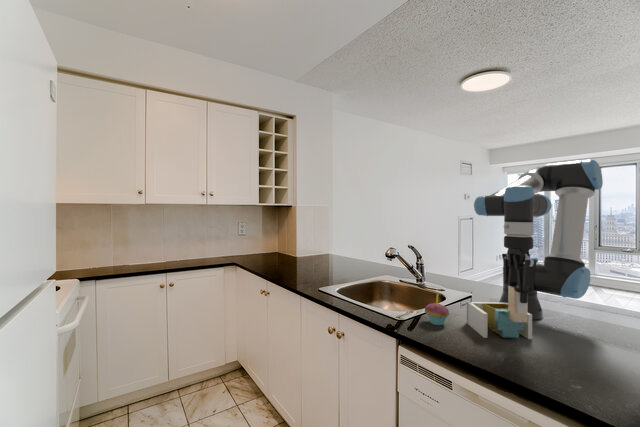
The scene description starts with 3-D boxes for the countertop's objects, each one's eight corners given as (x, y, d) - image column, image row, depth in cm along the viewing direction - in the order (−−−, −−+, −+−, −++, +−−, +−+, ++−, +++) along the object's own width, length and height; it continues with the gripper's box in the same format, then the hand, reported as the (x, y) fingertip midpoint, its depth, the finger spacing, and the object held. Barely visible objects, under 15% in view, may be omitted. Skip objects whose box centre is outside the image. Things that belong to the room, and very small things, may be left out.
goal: (509, 324, 106) (509, 302, 106) (531, 339, 94) (532, 314, 94) (466, 323, 107) (466, 301, 107) (483, 337, 95) (483, 313, 95)
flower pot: (482, 328, 103) (481, 302, 104) (507, 328, 103) (505, 303, 103) (495, 336, 94) (494, 308, 95) (523, 337, 94) (521, 309, 95)
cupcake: (451, 328, 103) (451, 295, 102) (426, 326, 104) (426, 293, 104) (445, 319, 111) (446, 288, 111) (422, 317, 113) (423, 287, 113)
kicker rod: (519, 335, 95) (520, 282, 94) (534, 345, 88) (534, 288, 87) (494, 334, 95) (494, 282, 95) (506, 344, 88) (507, 287, 88)
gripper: (491, 233, 97) (491, 302, 98) (522, 238, 81) (521, 320, 81) (514, 233, 97) (514, 302, 97) (549, 238, 81) (549, 320, 81)
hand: (517, 310), depth 89 cm, fingers closed on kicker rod, 3 cm apart
